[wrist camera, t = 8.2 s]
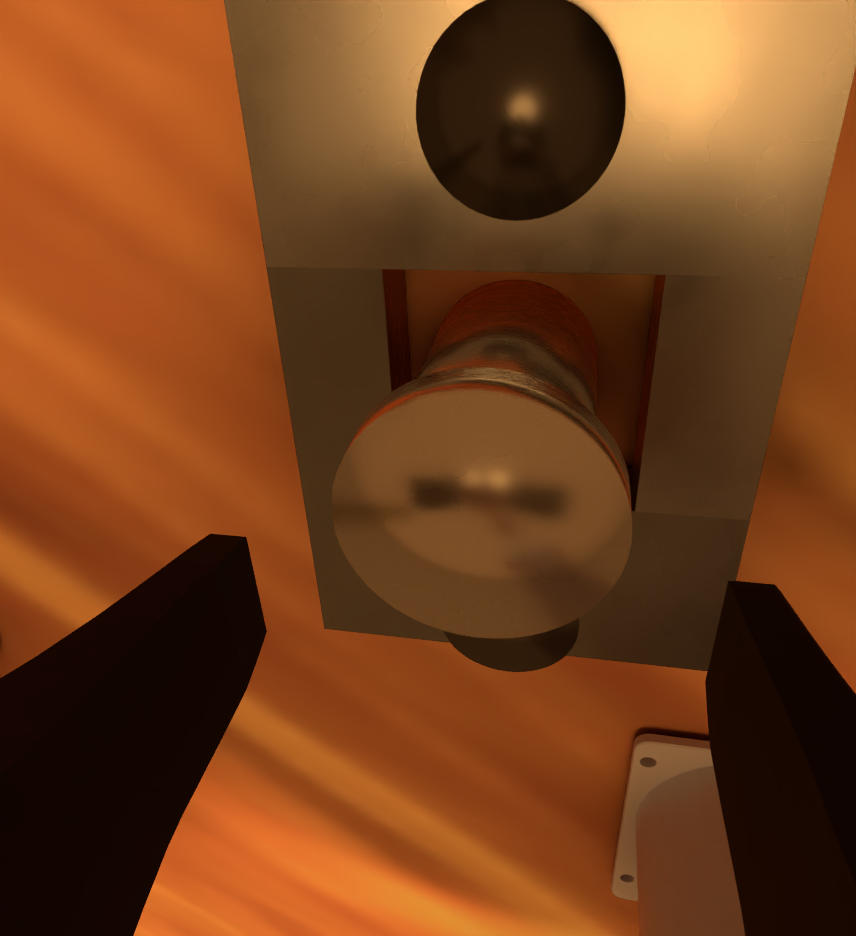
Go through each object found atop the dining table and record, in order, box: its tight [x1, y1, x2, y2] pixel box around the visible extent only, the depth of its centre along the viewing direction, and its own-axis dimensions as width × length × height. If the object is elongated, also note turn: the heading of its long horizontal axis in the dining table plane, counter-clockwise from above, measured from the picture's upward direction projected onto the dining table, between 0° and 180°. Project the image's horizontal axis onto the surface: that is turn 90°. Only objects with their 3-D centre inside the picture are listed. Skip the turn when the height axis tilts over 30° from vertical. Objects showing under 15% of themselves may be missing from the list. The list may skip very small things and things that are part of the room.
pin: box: [331, 280, 632, 639], centre depth 16 cm, size 5×5×7 cm
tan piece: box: [224, 0, 856, 672], centre depth 18 cm, size 16×11×3 cm
